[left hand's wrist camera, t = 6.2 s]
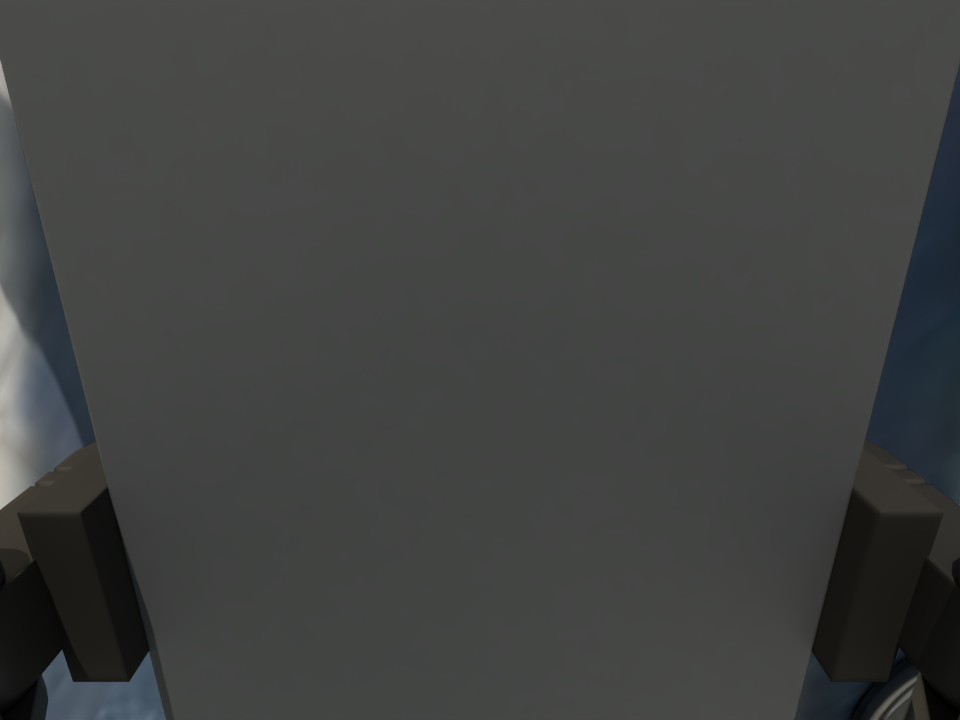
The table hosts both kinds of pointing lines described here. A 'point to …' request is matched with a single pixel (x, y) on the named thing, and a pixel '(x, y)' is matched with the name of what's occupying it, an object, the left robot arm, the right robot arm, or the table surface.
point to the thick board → (480, 333)
